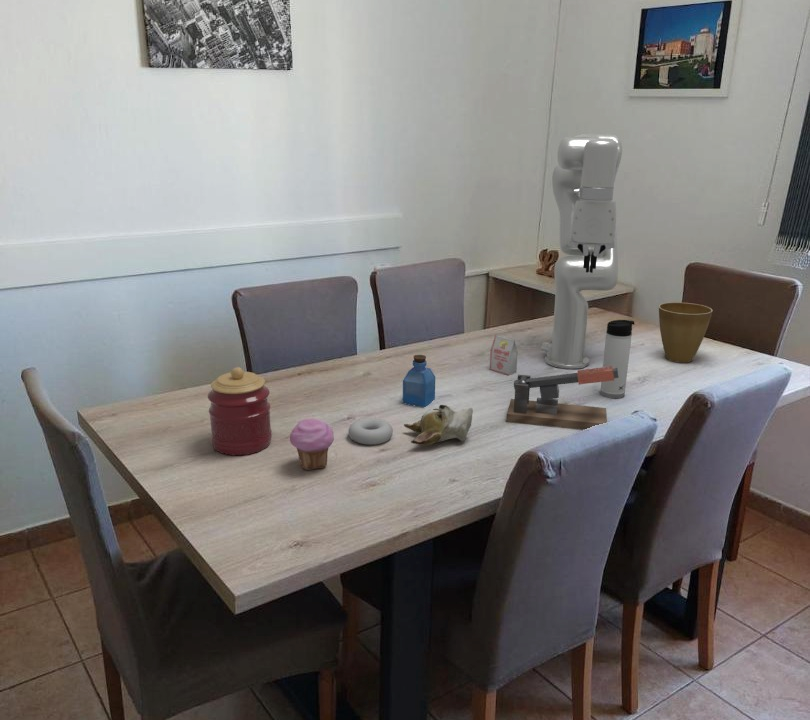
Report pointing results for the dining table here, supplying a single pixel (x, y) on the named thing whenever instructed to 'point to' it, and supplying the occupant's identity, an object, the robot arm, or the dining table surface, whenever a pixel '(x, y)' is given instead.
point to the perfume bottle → (419, 384)
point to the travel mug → (617, 356)
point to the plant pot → (683, 329)
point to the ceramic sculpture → (441, 425)
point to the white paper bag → (503, 356)
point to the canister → (239, 413)
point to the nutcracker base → (562, 416)
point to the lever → (568, 380)
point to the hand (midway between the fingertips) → (589, 271)
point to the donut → (370, 431)
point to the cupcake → (312, 442)
